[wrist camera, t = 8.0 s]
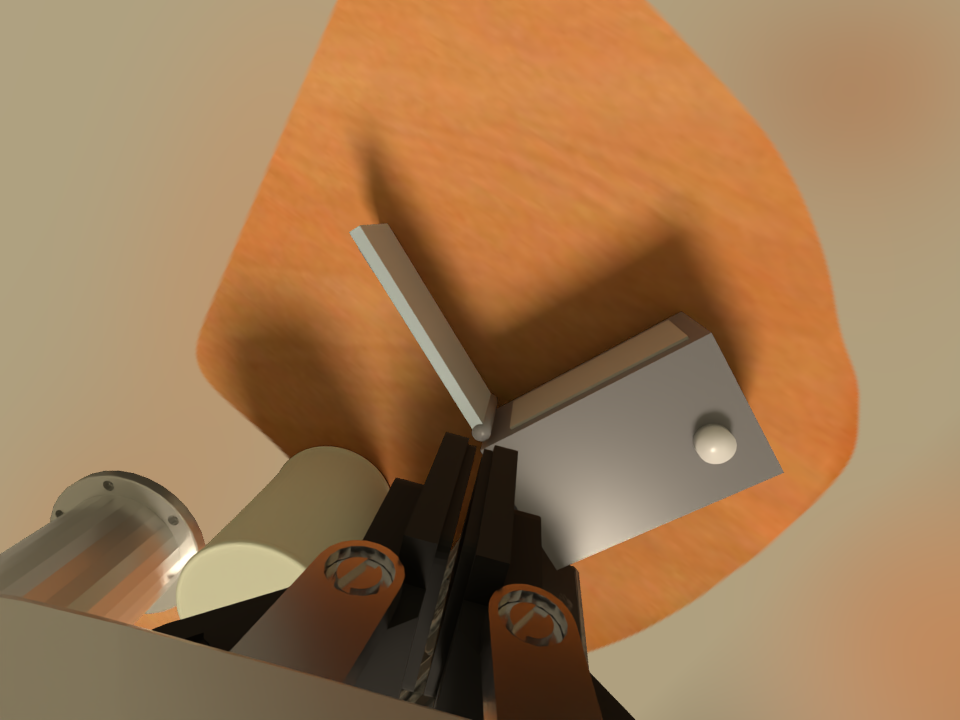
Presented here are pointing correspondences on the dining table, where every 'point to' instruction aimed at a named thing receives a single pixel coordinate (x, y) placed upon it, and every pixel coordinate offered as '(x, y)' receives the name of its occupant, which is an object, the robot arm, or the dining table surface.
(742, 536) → the dining table surface
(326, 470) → the can
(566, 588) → the camera
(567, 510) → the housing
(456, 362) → the side door
